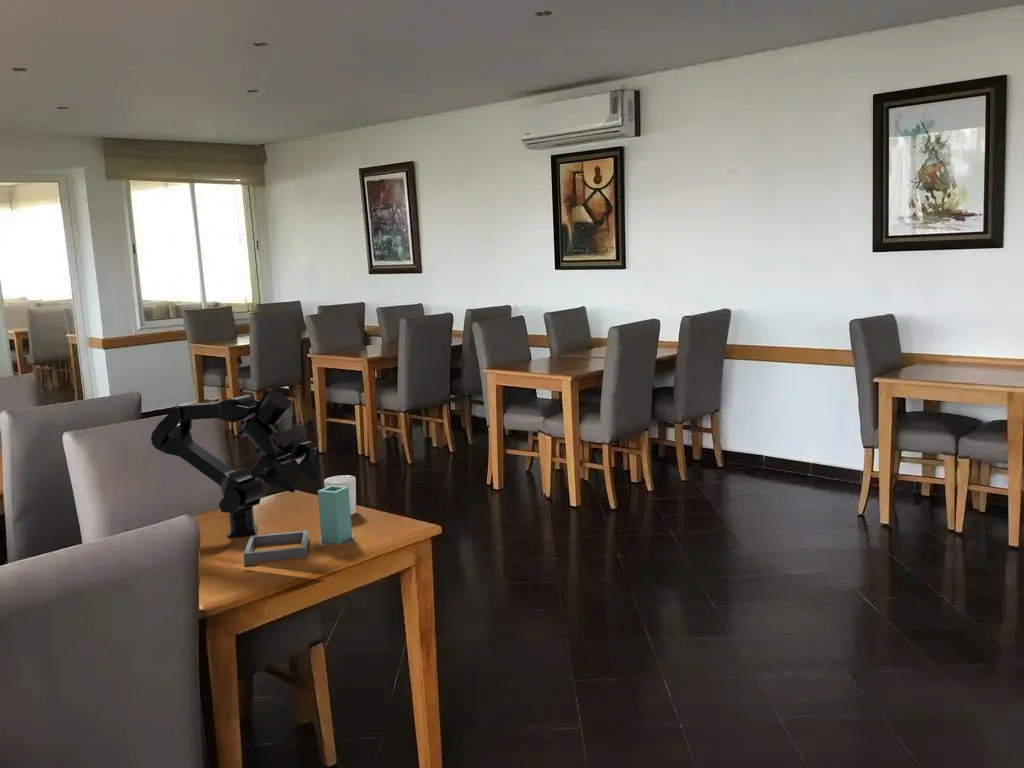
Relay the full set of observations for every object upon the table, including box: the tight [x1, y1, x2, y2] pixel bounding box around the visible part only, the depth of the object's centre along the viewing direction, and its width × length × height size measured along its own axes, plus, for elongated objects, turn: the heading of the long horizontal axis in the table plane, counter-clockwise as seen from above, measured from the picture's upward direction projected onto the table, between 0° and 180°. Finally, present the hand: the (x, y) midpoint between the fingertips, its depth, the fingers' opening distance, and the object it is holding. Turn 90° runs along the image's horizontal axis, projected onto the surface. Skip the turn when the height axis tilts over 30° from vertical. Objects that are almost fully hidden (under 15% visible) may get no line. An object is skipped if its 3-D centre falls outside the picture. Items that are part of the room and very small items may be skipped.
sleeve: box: [317, 486, 353, 545], centre depth 199 cm, size 5×5×12 cm
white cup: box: [323, 474, 357, 516], centre depth 221 cm, size 8×8×10 cm
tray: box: [243, 530, 310, 568], centre depth 194 cm, size 13×13×3 cm
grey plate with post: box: [318, 532, 355, 547], centre depth 200 cm, size 8×8×4 cm
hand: (306, 486), depth 201 cm, fingers open, 9 cm apart
